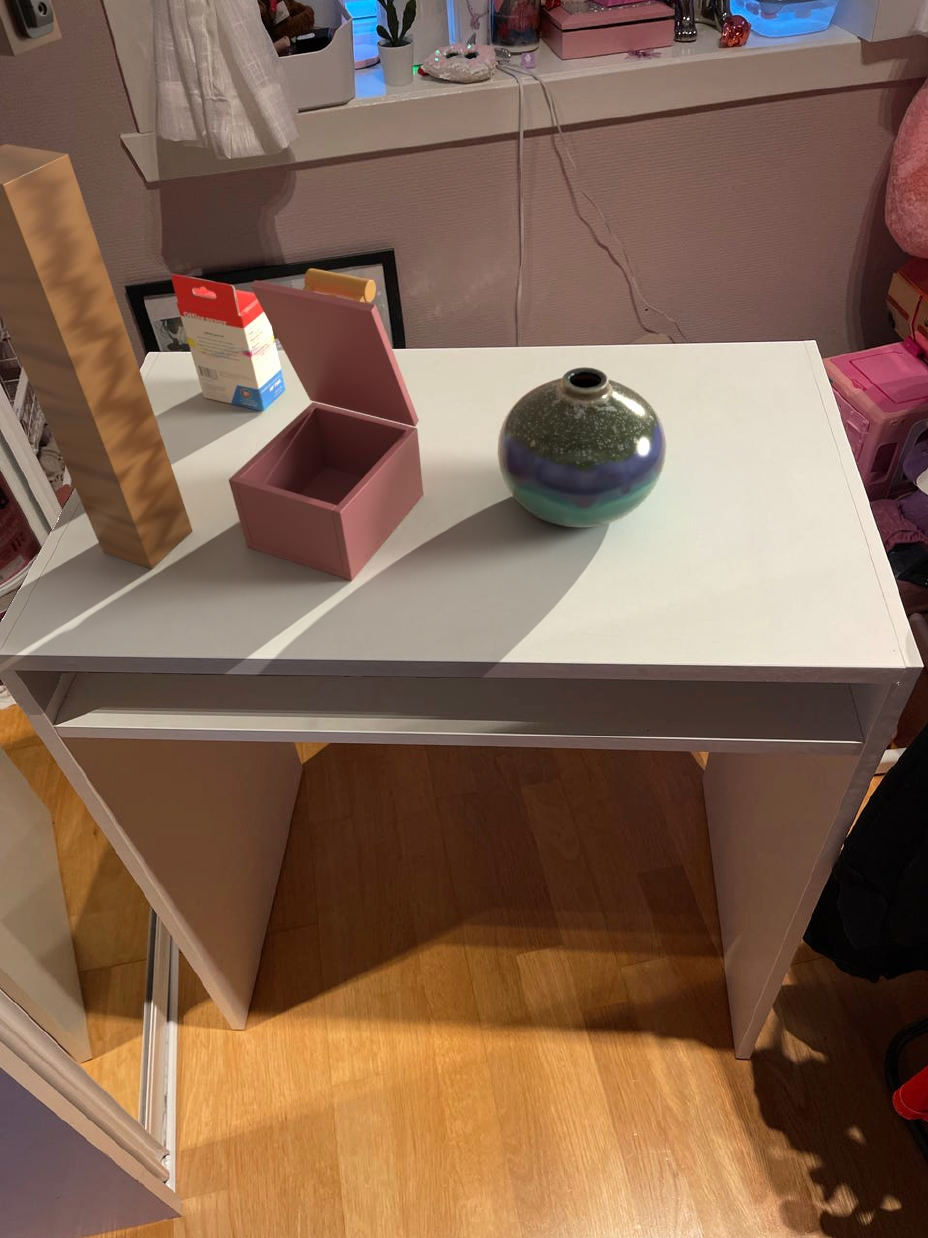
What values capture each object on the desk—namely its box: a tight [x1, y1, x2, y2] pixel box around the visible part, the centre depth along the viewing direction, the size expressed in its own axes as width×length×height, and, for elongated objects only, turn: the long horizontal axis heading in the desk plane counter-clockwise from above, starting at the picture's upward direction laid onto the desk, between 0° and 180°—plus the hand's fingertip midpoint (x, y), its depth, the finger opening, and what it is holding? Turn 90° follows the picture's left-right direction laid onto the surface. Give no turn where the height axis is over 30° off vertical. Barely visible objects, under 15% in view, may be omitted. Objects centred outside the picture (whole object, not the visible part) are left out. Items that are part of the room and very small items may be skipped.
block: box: [0, 0, 63, 58], centre depth 55 cm, size 4×4×4 cm
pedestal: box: [0, 143, 194, 570], centre depth 74 cm, size 6×6×34 cm
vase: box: [497, 366, 667, 528], centre depth 83 cm, size 15×15×13 cm
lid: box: [250, 268, 419, 428], centre depth 80 cm, size 14×12×5 cm
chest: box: [228, 401, 424, 582], centre depth 84 cm, size 14×12×8 cm
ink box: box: [171, 273, 286, 412], centre depth 99 cm, size 8×5×15 cm, turn 65°
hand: (10, 30), depth 56 cm, fingers closed on block, 4 cm apart
